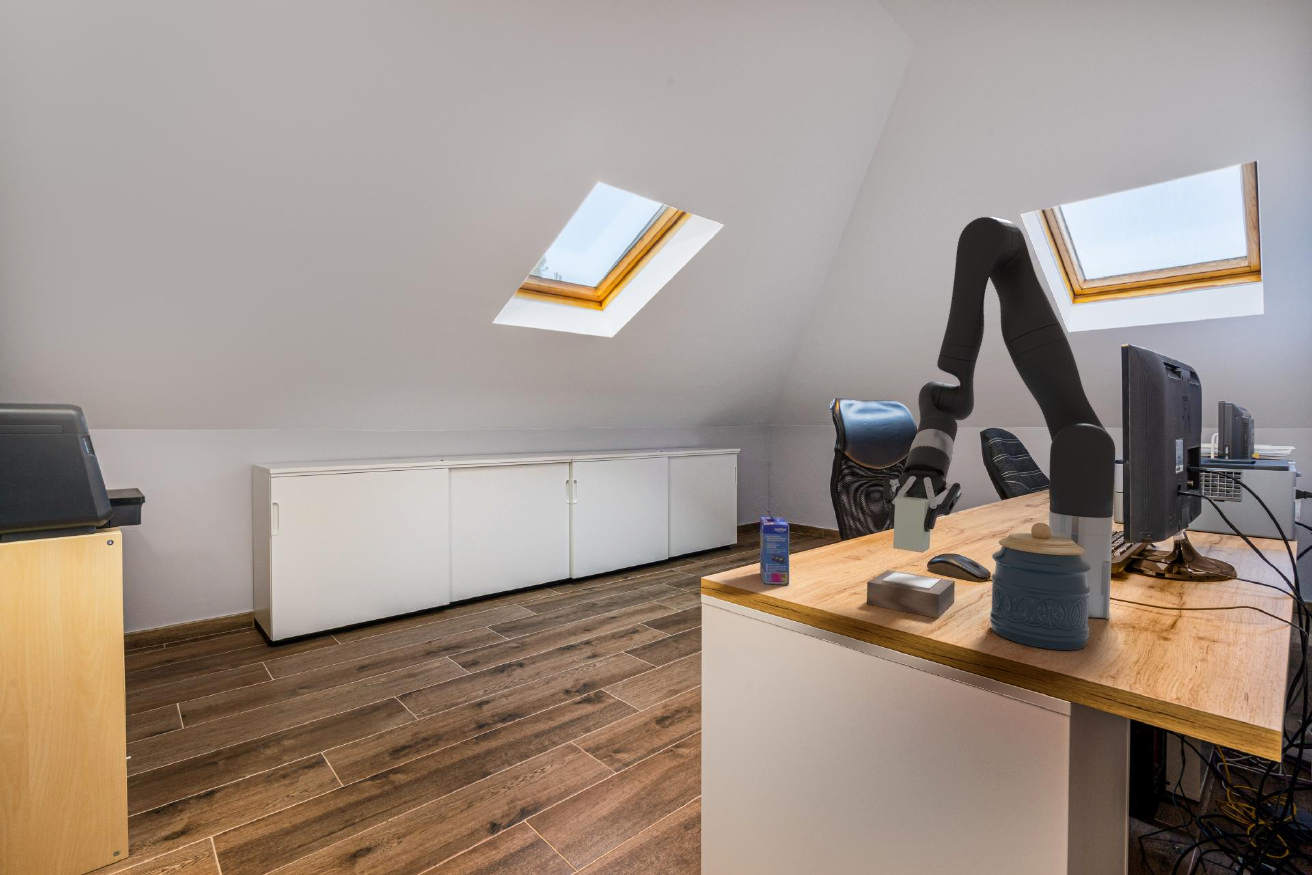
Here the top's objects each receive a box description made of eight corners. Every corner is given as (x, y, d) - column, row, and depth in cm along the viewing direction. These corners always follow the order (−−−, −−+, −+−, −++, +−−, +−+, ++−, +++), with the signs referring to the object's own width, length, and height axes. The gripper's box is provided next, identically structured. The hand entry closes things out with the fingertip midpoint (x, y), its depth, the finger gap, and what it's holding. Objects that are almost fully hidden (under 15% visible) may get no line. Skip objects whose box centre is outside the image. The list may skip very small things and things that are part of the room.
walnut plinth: (954, 602, 111) (954, 579, 110) (938, 618, 101) (939, 592, 101) (887, 590, 118) (887, 568, 118) (866, 603, 108) (867, 580, 108)
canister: (980, 636, 93) (984, 522, 92) (998, 617, 102) (1002, 513, 102) (1084, 659, 84) (1089, 533, 84) (1092, 635, 94) (1096, 523, 94)
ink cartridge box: (758, 572, 130) (759, 505, 130) (784, 573, 130) (785, 506, 130) (761, 584, 121) (763, 512, 120) (789, 585, 120) (791, 513, 120)
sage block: (929, 548, 110) (931, 499, 110) (922, 552, 106) (924, 501, 106) (901, 544, 113) (903, 496, 113) (893, 548, 109) (895, 498, 109)
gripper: (887, 442, 119) (865, 509, 110) (968, 446, 110) (950, 519, 101) (894, 468, 123) (873, 534, 114) (972, 473, 115) (956, 545, 106)
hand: (909, 526), depth 108 cm, fingers closed on sage block, 5 cm apart
